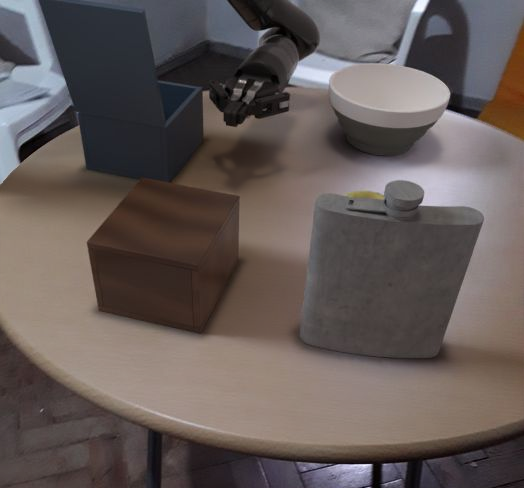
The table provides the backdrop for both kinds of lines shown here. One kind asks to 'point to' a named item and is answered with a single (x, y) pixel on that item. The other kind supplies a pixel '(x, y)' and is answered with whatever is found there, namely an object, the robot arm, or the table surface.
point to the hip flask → (385, 272)
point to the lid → (106, 59)
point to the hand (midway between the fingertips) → (231, 119)
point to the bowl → (386, 105)
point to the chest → (146, 137)
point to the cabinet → (166, 253)
